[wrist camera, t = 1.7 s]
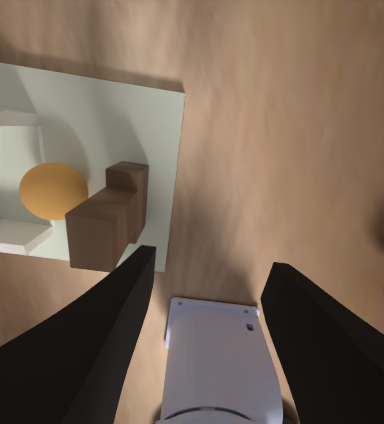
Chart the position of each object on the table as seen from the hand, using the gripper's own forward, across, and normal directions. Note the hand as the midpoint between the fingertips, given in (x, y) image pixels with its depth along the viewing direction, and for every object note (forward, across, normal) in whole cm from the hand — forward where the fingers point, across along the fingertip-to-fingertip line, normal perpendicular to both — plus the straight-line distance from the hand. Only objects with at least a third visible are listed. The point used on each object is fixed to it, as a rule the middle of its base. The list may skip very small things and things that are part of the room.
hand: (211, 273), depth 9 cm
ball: (+7, +10, 0) cm, 12 cm away
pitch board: (+9, +10, 0) cm, 14 cm away
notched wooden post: (+8, +6, 0) cm, 10 cm away
